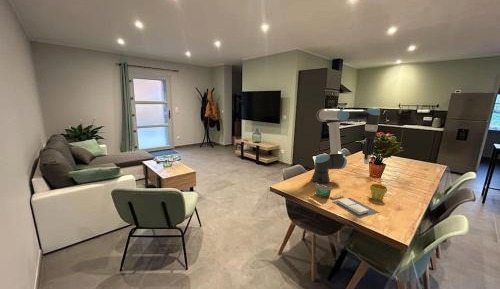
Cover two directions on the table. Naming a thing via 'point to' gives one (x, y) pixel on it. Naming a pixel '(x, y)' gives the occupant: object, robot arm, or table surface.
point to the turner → (336, 197)
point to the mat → (370, 212)
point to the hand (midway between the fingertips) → (366, 163)
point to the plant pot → (378, 191)
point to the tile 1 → (346, 202)
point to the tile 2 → (358, 209)
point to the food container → (322, 191)
